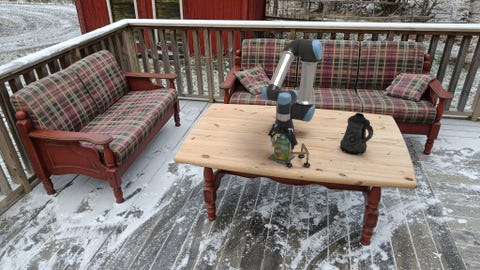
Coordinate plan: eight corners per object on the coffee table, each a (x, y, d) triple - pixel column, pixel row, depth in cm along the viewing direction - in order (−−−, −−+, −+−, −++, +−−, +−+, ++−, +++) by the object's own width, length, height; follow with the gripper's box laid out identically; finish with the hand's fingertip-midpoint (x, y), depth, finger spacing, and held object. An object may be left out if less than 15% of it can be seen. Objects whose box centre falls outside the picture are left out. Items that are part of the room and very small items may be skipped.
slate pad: (268, 158, 210) (268, 157, 210) (279, 150, 218) (279, 149, 218) (284, 165, 203) (284, 163, 203) (294, 157, 211) (294, 155, 211)
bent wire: (284, 166, 202) (285, 152, 197) (300, 154, 214) (301, 140, 209) (301, 173, 195) (302, 159, 190) (317, 160, 207) (318, 146, 202)
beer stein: (343, 140, 229) (348, 106, 218) (373, 147, 220) (380, 112, 209) (336, 151, 217) (341, 116, 205) (367, 159, 208) (374, 122, 196)
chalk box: (273, 159, 208) (274, 138, 201) (276, 151, 215) (276, 131, 208) (288, 161, 205) (289, 139, 198) (290, 153, 213) (291, 133, 206)
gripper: (262, 115, 203) (262, 145, 213) (298, 126, 188) (295, 159, 198) (270, 111, 208) (269, 141, 218) (305, 122, 193) (302, 154, 203)
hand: (281, 149), depth 208 cm, fingers open, 13 cm apart
